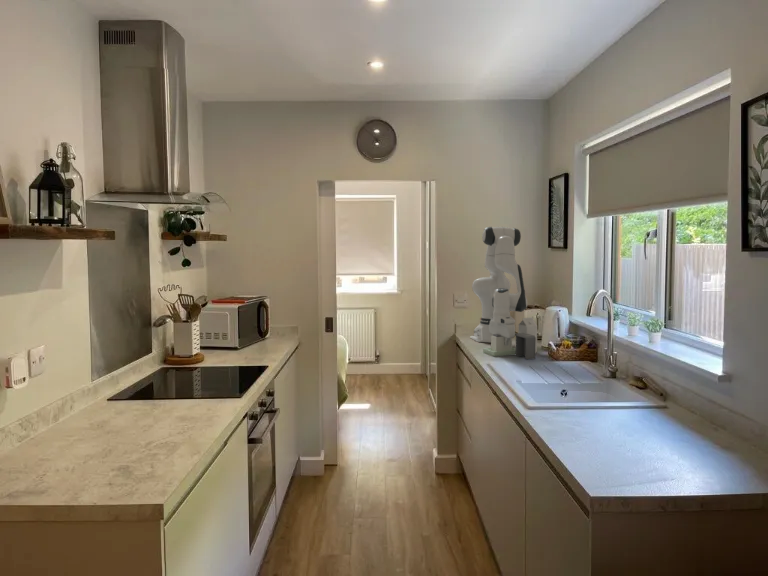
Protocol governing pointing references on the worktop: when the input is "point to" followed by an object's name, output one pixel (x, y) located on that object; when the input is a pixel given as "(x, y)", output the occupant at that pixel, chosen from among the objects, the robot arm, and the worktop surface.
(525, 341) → the open-top grey box
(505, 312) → the robot arm
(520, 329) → the milk carton
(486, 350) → the tray
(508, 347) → the cream box grey panel
